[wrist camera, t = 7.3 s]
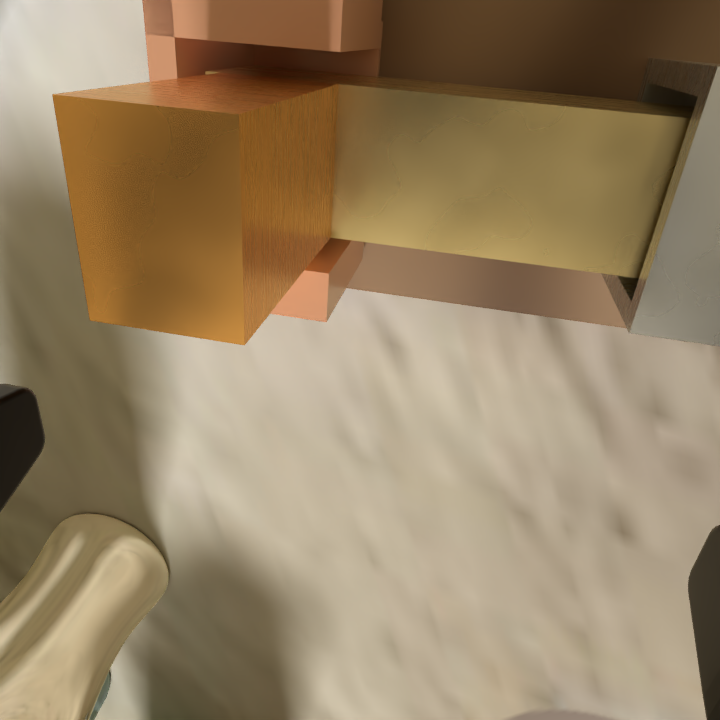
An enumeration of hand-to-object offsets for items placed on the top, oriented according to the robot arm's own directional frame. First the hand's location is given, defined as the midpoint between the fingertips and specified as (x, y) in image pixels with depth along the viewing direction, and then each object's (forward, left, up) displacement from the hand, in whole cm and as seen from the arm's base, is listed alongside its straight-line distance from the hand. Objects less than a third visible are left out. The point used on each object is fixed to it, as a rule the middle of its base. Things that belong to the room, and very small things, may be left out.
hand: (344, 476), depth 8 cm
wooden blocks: (-2, -3, -10) cm, 11 cm away
